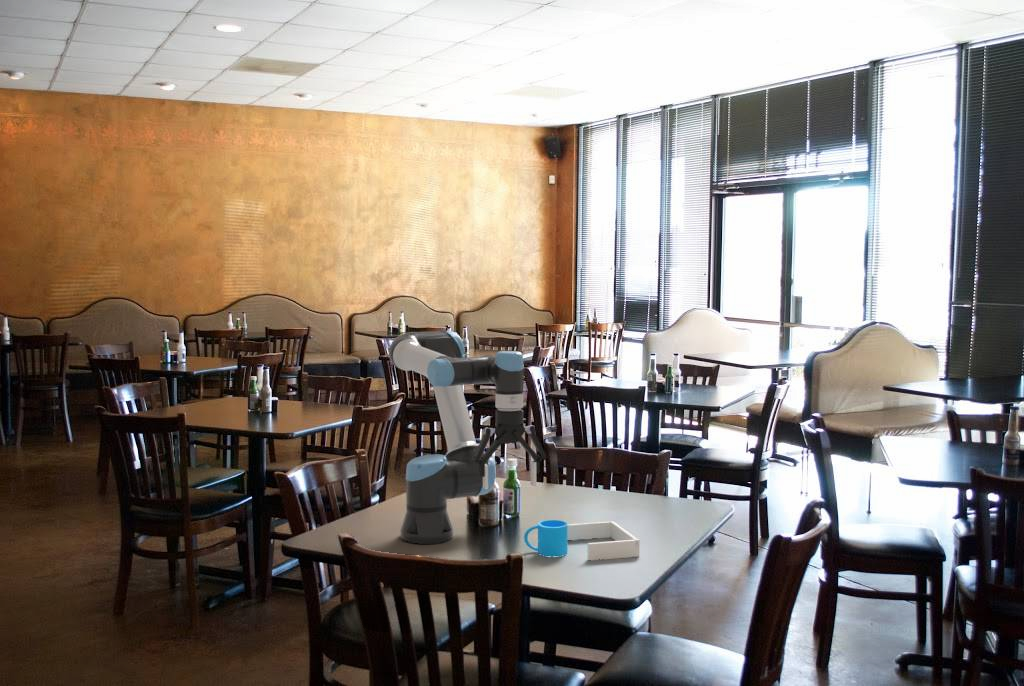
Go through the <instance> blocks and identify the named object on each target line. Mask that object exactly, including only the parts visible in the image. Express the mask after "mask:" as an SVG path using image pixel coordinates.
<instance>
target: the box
mask: <svg viewBox="0 0 1024 686" xmlns="http://www.w3.org/2000/svg"><path fill="white" fill-rule="evenodd" d="M567 524H568V523H567ZM610 537H611V539H612V540H611V541H610V540H609V541H597V542H596V541H595V542H587V559H588V560H591V561H603V560H613V559H614V560H615V559H624V558H625V559H626V558H627V559H628V558H636V557H640V544H641V543H640V539H639V538H637V537H636V536H634V534H631V533H630V532H629V531H628V530H627V529H625V528H623V527H622V526H620V525H619V524H618V523H616V522H615V521H613V520H612V521H599V522H598V521H597V522H594V521H593V522H586V523H585V522H584V523H569V524H568V536H567V540H572V541H578V540H577V539H585V540H593V539H592V538H598V539H608V538H610ZM599 559H600V560H599ZM602 559H603V560H602ZM588 560H587V561H588Z"/></svg>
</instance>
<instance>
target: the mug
mask: <svg viewBox="0 0 1024 686" xmlns="http://www.w3.org/2000/svg"><path fill="white" fill-rule="evenodd" d="M535 529H536V530H537V547H536V546H534V545H532V544H531V543H530V542H529V540H528V537H529V536H528V535H529V534H530V532H532V531H533V530H535ZM567 536H568V523H567V522H566V521H563V520H560V519H547V520H541V521H538V523H537V525H534V526H532V527H530V528H528V529H526V531H525V533H524V536H523V539H524V540H523V541H524V543H525V545H526V546H527V547H528V548H529V549H531V550H533V551H536V552H537V554H538V553H539V554H541V555H544V556H551V557H550V558H554V557H553V556H562V555H565V554H567V555H568V541H567ZM539 554H538V555H539ZM541 555H540V556H541ZM544 556H543V557H544ZM565 556H566V555H565ZM562 557H563V556H562Z"/></svg>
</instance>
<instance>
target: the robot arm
mask: <svg viewBox="0 0 1024 686" xmlns="http://www.w3.org/2000/svg"><path fill="white" fill-rule="evenodd" d="M465 353H466V349H465V344H464V342H463V340H462V337H460V335H459V334H458V333H457V332H455V331H452V330H442V329H441V330H438V331H437V330H436V331H432V330H431V331H409V332H405V333H402V334H400V335H398V336H397V337H395V338H394V339H393V341H392V342H391V343H390V345H389V347H388V358H389V360H390V362H391V364H393V366H394V367H395V368H398V369H400V370H402V371H407V372H410V371H413V372H415V373H418V374H419V375H422V376H425V377H426V379H427V380H428V381H429V383H430V385H432V387H433V392H434V396H435V399H436V405H437V408H438V413H439V416H440V421H441V425H442V429H443V434H444V438H445V442H446V447H447V452H446V453H445V455H444V454H440V453H435V454H424V455H419V456H418V457H414V458H412V459H411V460H409V461H408V462H407V464H406V472H405V487H406V489H405V490H406V491H405V492H406V493H405V494H406V495H405V496H406V498H405V499H406V511H405V516H404V518H403V521H402V525H401V528H400V539H401V538H402V539H403V540H405V541H404V542H406V541H408V542H407V543H409V542H412V544H415V543H418V545H432V544H433V545H435V544H440V543H444V542H447V541H450V540H451V539H453V537H454V529H453V525H452V521H451V519H450V517H449V513H448V510H447V509H448V508H447V505H448V503H447V502H448V501H447V500H452V499H461V498H469V497H478V496H483V495H484V496H485V495H486V494H489V493H490V492H491V491H492V489H493V487H494V485H495V481H496V476H497V475H496V473H497V471H496V470H497V469H496V464H495V459H494V457H493V454H494V453H495V452H496V450H497V449H498V448H499V447H500V446H501V445H502V444H505V445H508V444H517V443H519V444H520V445H521V446H522V447H523V449H524V450H525V451H526V452H527V454H528V455H529V456H530V457H531V458H532V459H533V460H530V485H532V486H533V487H536V486H537V474H539V473H540V472H541V467H540V466H541V465H540V464H541V462H542V460H546V459H547V453H546V452H545V450H544V448H543V446H542V444H541V442H540V440H539V438H538V435H537V433H536V427H535V425H532V424H529V425H527V426H524V410H523V408H524V368H525V365H524V354H523V353H522V352H521V351H517V350H516V351H513V350H501V351H497V352H496V354H495V355H492V354H485V355H480V356H471V357H470V356H469V357H467V356H466V354H465ZM483 384H484V385H485V384H487V385H489V384H494V385H495V390H494V391H495V405H494V406H495V408H496V410H495V425H494V426H495V427H494V428H493V427H487V426H485V427H484V428H483V433H482V434H483V435H482V437H481V439H480V442H479V443H477V441H476V438H475V437H476V436H475V434H474V429H473V424H472V421H471V416H470V414H469V409H468V405H467V401H466V398H465V395H464V389H463V386H464V385H465V386H469V385H483ZM525 432H526V434H528V436H529V438H530V440H531V442H532V443H533V445H534V448H535V450H536V451H537V453H538V454H537V453H536V452H535V451H534V449H533V448H532V447H531V446H530V445H529V443H528V442H527V441H526V440H525V438H523V435H524V434H525ZM493 434H495V436H496V437H495V438H494V439H493V442H492V443H491V444H490V445H489V447H488V448H487V449H486V447H487V445H488V443H489V440H490V438H491V437H492V436H493ZM485 449H486V450H485ZM484 451H485V452H484ZM402 539H401V540H402ZM403 540H402V541H403Z"/></svg>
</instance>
